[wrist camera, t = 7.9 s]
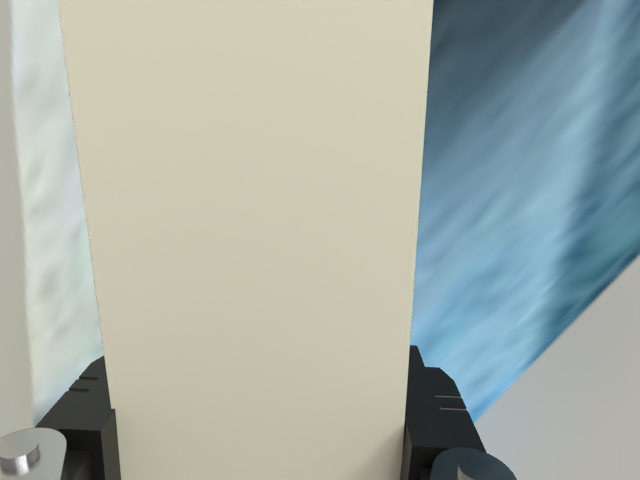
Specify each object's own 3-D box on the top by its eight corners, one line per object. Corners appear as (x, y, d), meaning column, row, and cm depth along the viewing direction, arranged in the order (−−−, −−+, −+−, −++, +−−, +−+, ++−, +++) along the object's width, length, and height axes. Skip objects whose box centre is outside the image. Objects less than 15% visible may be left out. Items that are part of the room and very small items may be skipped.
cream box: (151, -41, 10) (35, -131, 6) (396, -40, 10) (443, -130, 6) (190, 451, 13) (133, 600, 9) (373, 453, 13) (392, 604, 9)
